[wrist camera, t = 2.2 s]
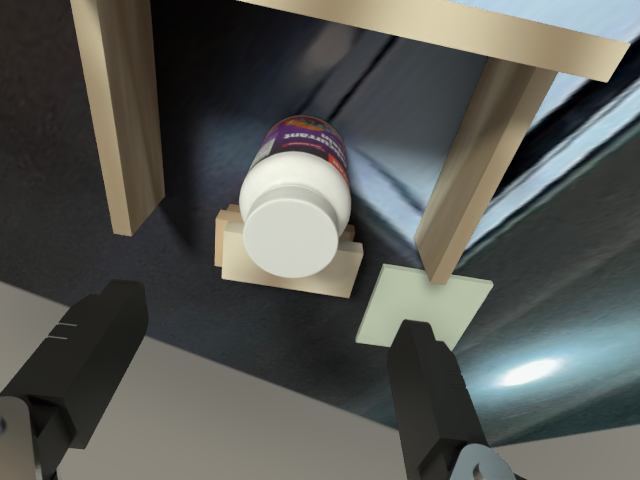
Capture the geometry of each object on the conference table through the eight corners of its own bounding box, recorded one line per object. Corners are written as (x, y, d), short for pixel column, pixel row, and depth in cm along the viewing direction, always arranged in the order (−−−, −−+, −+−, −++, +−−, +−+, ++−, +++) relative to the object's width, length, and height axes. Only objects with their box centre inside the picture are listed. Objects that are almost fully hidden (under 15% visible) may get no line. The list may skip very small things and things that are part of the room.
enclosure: (520, 28, 18) (630, 44, 11) (426, 239, 26) (460, 322, 19) (123, -64, 16) (-16, -108, 10) (150, 193, 24) (83, 266, 17)
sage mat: (491, 280, 28) (493, 285, 28) (447, 350, 33) (449, 355, 33) (383, 263, 27) (384, 267, 27) (355, 338, 32) (355, 342, 32)
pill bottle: (362, 143, 22) (383, 227, 14) (316, 206, 24) (311, 307, 16) (287, 93, 20) (261, 155, 12) (247, 166, 23) (203, 257, 15)
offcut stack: (359, 224, 25) (363, 254, 22) (346, 266, 28) (348, 298, 25) (224, 201, 25) (210, 228, 22) (223, 246, 27) (210, 276, 24)
